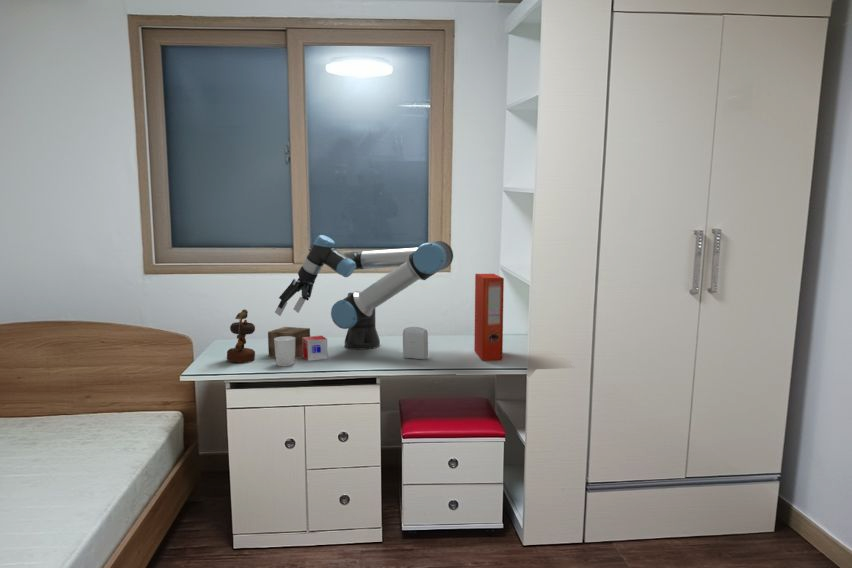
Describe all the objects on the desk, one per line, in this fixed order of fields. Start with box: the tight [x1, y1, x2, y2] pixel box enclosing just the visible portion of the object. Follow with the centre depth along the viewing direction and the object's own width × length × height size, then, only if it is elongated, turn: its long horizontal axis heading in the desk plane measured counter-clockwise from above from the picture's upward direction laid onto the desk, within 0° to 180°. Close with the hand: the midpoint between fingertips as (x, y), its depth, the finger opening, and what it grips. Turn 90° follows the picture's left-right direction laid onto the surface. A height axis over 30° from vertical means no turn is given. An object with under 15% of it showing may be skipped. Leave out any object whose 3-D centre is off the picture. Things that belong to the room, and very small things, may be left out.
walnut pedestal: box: [267, 326, 311, 359], centre depth 258 cm, size 12×12×10 cm
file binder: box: [473, 273, 505, 362], centre depth 252 cm, size 8×17×32 cm, turn 6°
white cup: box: [274, 336, 296, 367], centre depth 242 cm, size 8×8×10 cm
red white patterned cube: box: [302, 335, 329, 361], centre depth 253 cm, size 8×8×8 cm
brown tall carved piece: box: [226, 308, 256, 363], centre depth 249 cm, size 15×11×20 cm
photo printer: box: [402, 326, 429, 360], centre depth 250 cm, size 10×4×12 cm, turn 65°
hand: (286, 312), depth 268 cm, fingers open, 13 cm apart
